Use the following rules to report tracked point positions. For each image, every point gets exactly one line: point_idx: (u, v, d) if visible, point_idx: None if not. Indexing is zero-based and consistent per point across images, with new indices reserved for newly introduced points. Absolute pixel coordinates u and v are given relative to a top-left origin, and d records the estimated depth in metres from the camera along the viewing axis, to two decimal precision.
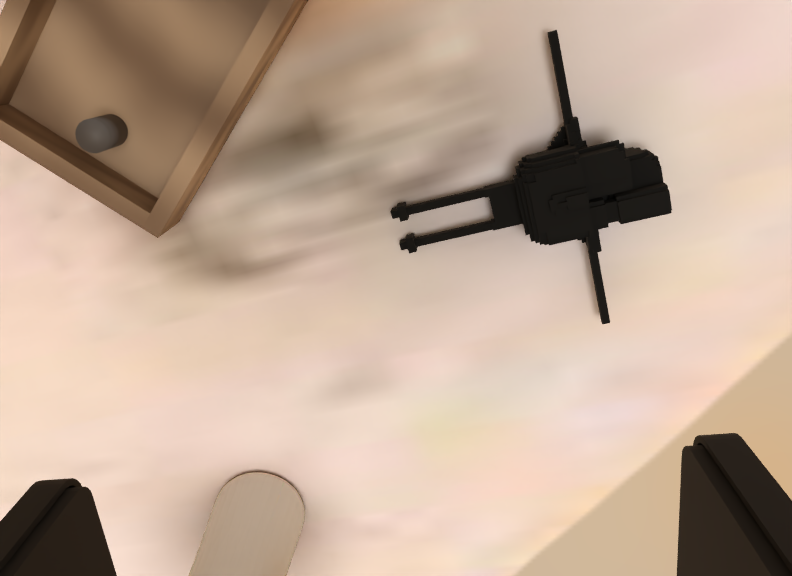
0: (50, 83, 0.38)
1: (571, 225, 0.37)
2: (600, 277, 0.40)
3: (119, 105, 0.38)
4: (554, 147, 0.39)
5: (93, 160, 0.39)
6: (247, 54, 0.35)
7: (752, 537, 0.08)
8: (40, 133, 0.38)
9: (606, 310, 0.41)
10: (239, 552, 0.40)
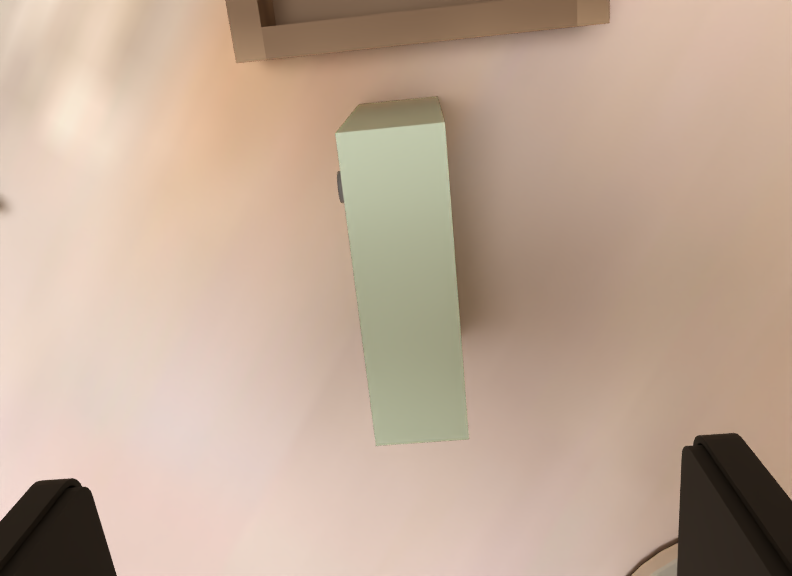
0: None
1: None
2: None
3: None
4: None
5: None
6: None
7: (752, 537, 0.08)
8: None
9: None
10: None
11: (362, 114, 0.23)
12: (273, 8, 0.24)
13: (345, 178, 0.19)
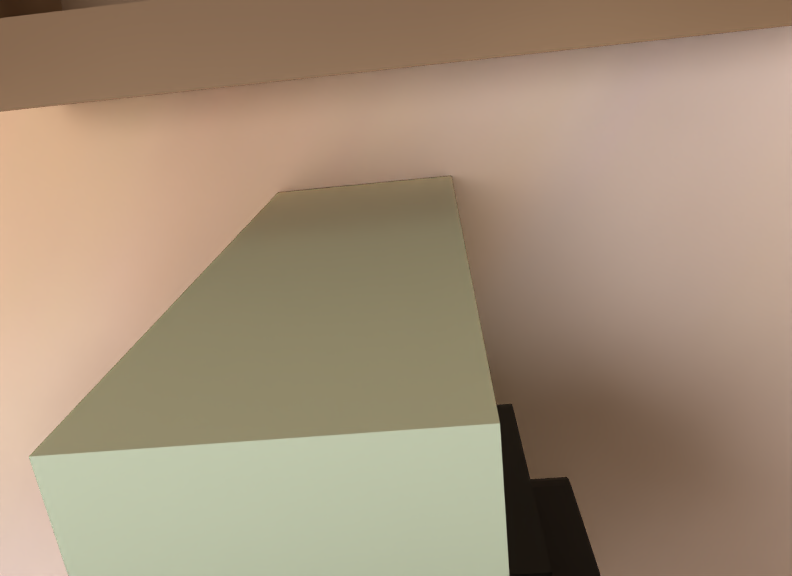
0: None
1: None
2: None
3: None
4: None
5: None
6: None
7: None
8: None
9: None
10: None
11: (248, 258, 0.08)
12: None
13: None
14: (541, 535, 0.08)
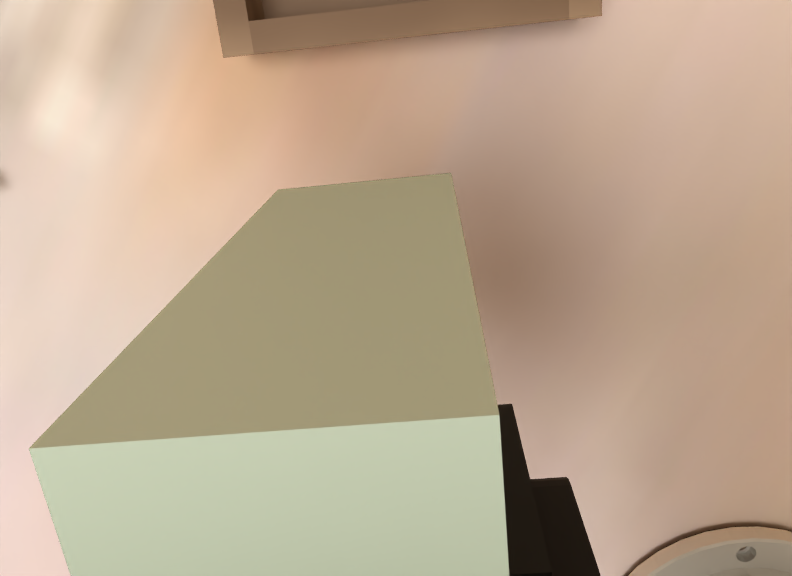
0: None
1: None
2: None
3: None
4: None
5: None
6: None
7: None
8: None
9: None
10: None
11: (248, 254, 0.08)
12: (261, 2, 0.24)
13: None
14: (541, 535, 0.08)
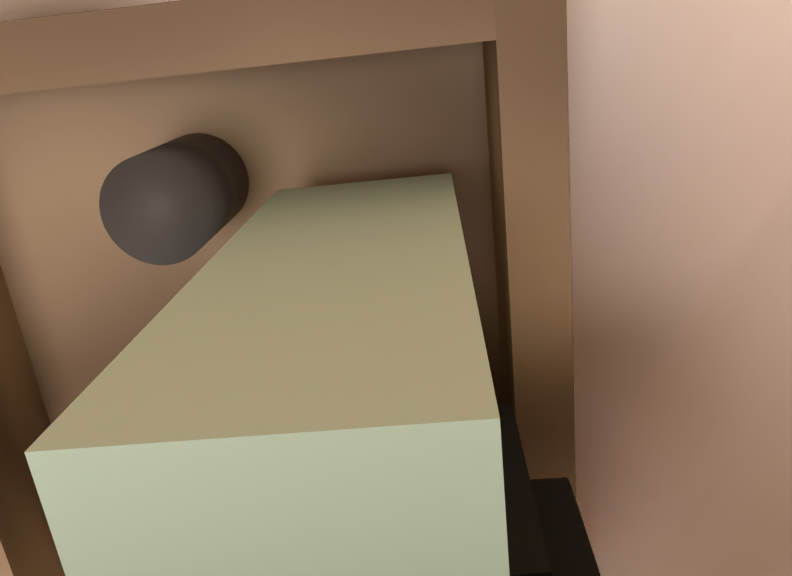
0: None
1: None
2: None
3: None
4: None
5: None
6: None
7: None
8: None
9: None
10: None
11: (247, 254, 0.08)
12: None
13: None
14: (541, 535, 0.08)
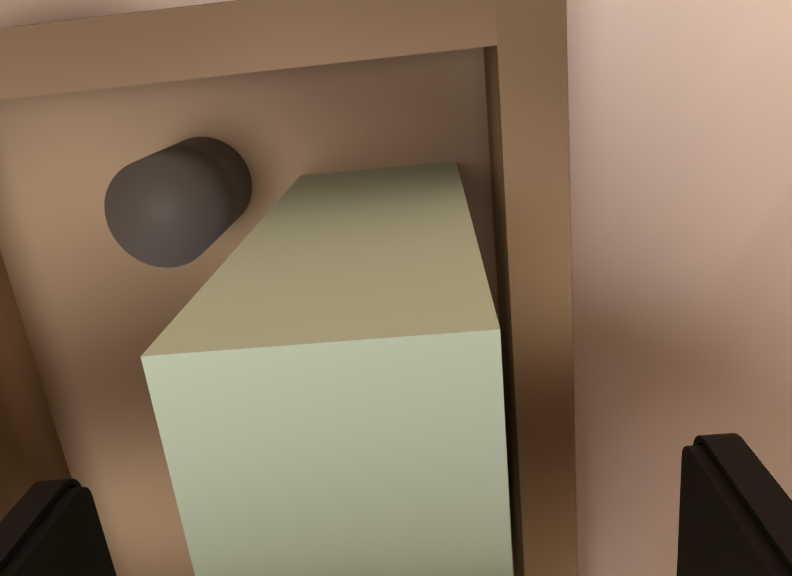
0: None
1: None
2: None
3: None
4: None
5: None
6: None
7: (752, 537, 0.08)
8: None
9: None
10: None
11: (284, 225, 0.10)
12: None
13: (184, 484, 0.06)
14: None
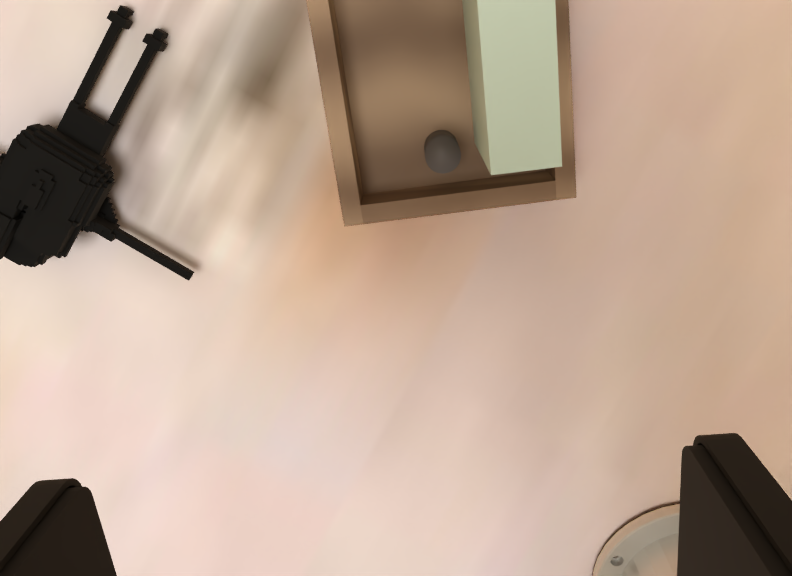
0: None
1: (16, 172, 0.35)
2: None
3: None
4: (105, 203, 0.38)
5: None
6: (342, 133, 0.34)
7: (752, 537, 0.08)
8: None
9: None
10: None
11: None
12: (361, 182, 0.38)
13: None
14: None
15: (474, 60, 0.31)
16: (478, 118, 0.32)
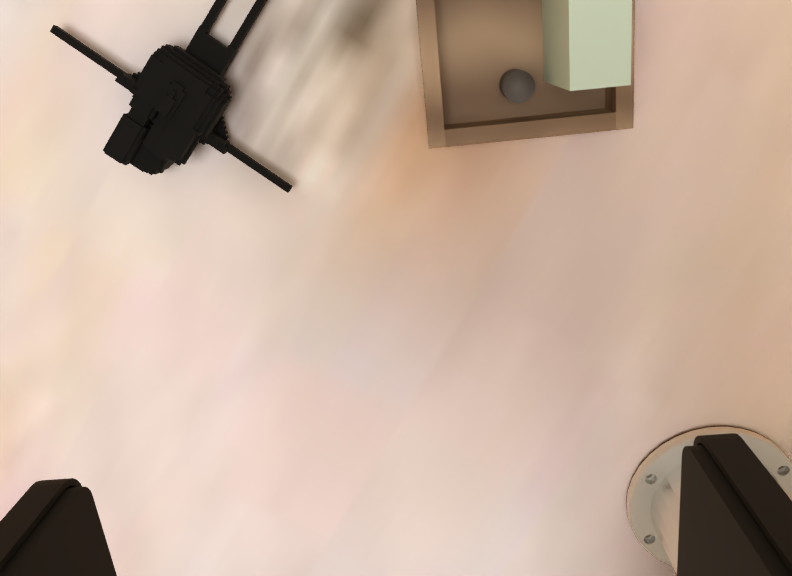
0: None
1: (152, 84, 0.40)
2: (94, 60, 0.42)
3: None
4: (219, 121, 0.44)
5: None
6: (433, 64, 0.40)
7: (752, 537, 0.08)
8: None
9: (63, 38, 0.42)
10: None
11: None
12: (442, 114, 0.43)
13: None
14: None
15: None
16: (554, 51, 0.38)
